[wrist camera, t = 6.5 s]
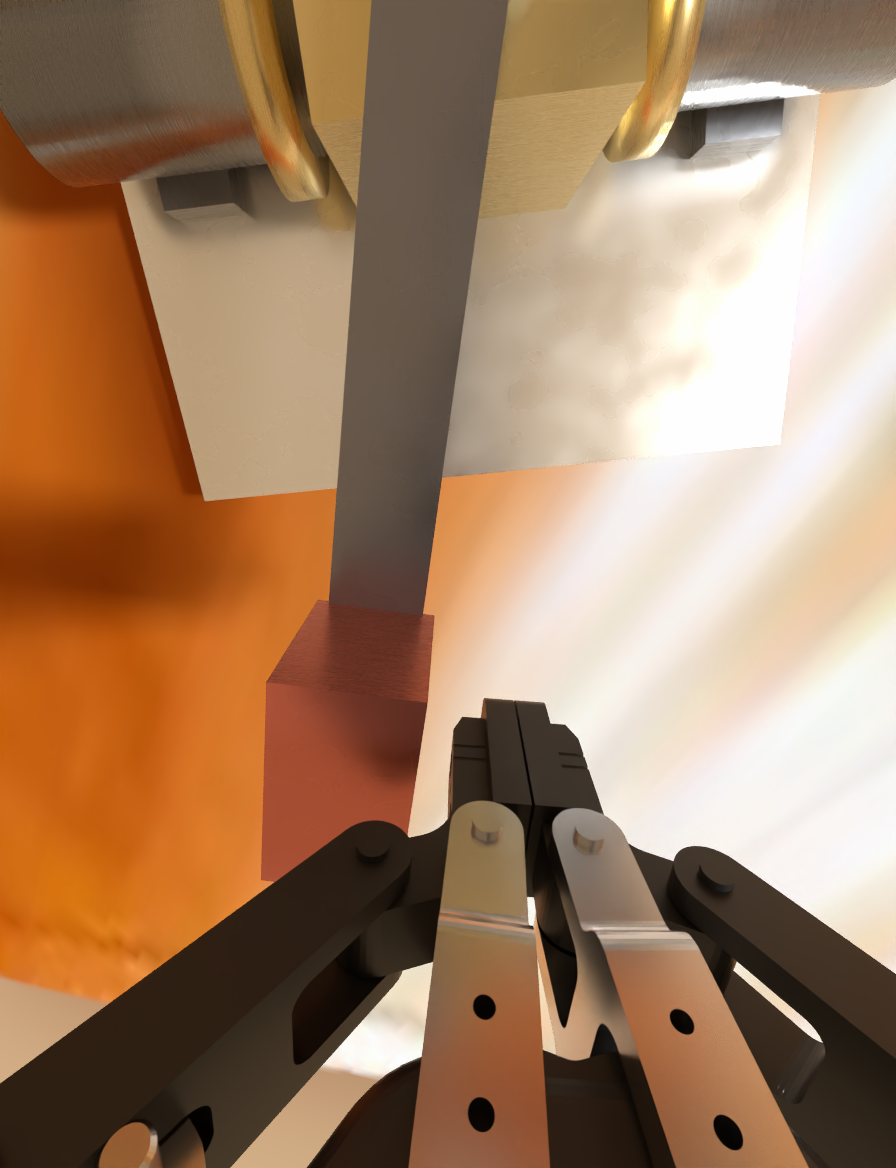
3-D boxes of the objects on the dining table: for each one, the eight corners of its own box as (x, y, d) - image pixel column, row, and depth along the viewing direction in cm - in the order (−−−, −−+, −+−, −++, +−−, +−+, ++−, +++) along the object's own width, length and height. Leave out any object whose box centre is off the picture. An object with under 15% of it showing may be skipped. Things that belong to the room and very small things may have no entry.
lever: (371, -321, 9) (276, -1153, 4) (582, -276, 9) (729, -1022, 4) (307, 733, 16) (247, 878, 12) (423, 748, 16) (411, 897, 12)
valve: (853, -411, 15) (1490, -1676, 6) (763, 441, 23) (967, 477, 14) (20, -274, 16) (-562, -1162, 7) (216, 495, 24) (72, 563, 15)
